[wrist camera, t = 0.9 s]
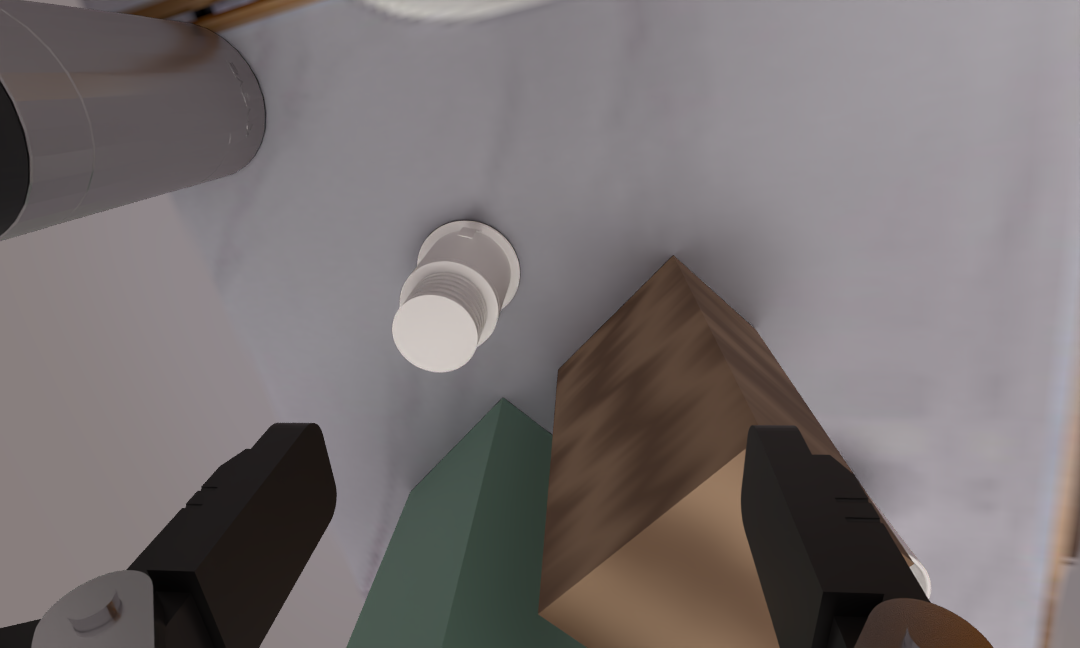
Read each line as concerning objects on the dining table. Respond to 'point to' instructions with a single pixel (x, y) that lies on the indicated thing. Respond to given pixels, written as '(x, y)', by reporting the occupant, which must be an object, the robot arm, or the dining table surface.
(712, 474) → the walnut block
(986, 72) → the dining table surface
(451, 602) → the green stand
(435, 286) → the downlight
